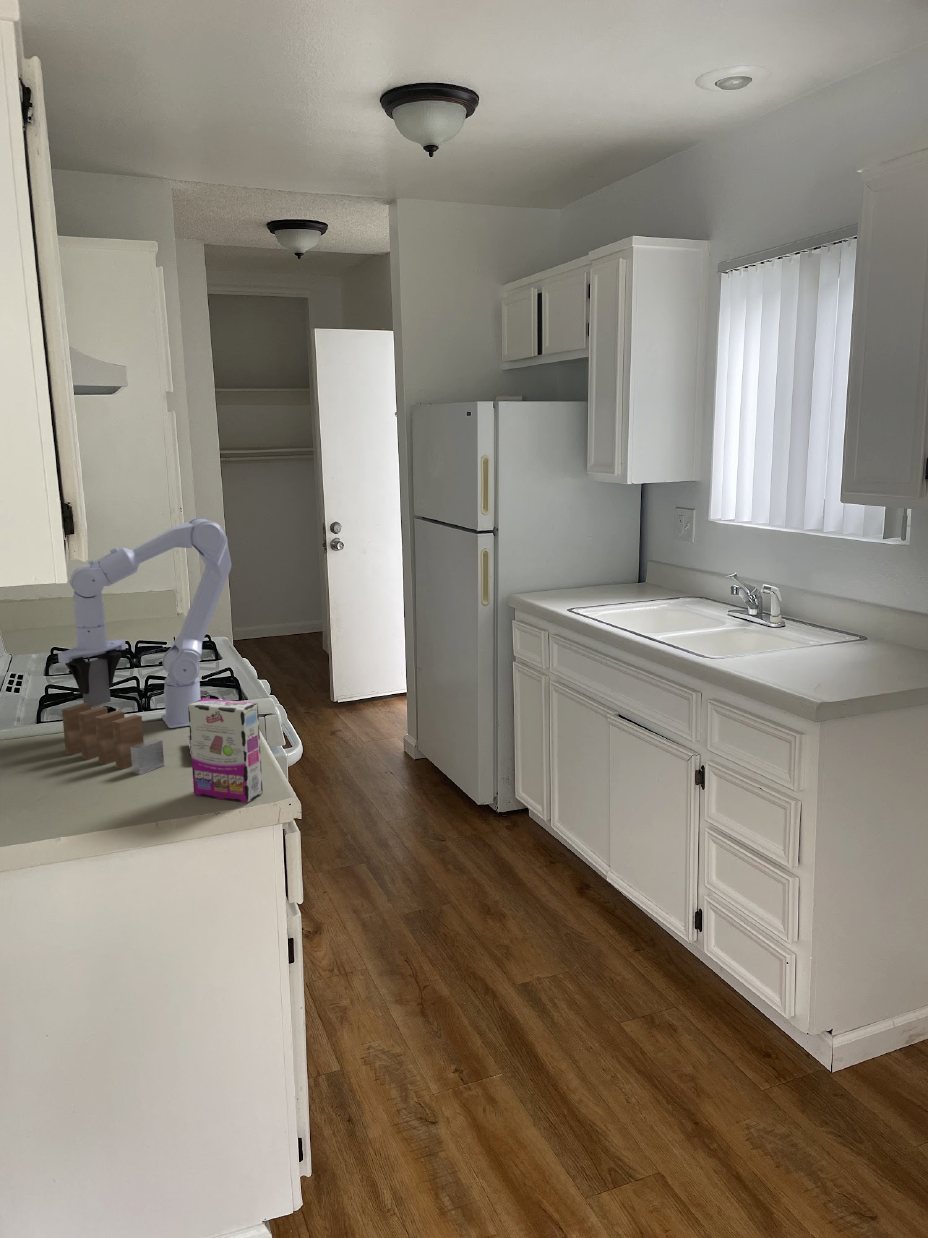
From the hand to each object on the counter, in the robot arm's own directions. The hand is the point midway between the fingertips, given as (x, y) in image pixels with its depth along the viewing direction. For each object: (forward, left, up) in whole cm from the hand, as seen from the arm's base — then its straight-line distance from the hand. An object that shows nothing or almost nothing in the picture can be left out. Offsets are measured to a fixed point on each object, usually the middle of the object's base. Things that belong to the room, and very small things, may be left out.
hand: (96, 689), depth 192 cm
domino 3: (+14, -2, -9) cm, 17 cm away
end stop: (+27, +5, -9) cm, 29 cm away
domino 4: (+18, 0, -9) cm, 21 cm away
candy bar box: (+46, +15, -10) cm, 50 cm away
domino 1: (+10, -5, -9) cm, 14 cm away
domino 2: (0, 0, -3) cm, 3 cm away
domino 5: (+23, +3, -9) cm, 25 cm away
